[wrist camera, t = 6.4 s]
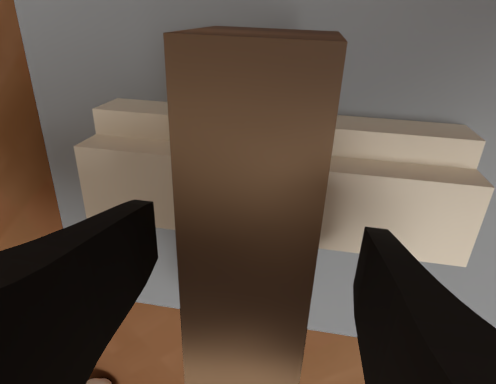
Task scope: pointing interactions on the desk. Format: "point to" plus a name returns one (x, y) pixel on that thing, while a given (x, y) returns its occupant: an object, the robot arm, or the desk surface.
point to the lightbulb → (99, 381)
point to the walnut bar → (249, 192)
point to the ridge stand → (345, 139)
